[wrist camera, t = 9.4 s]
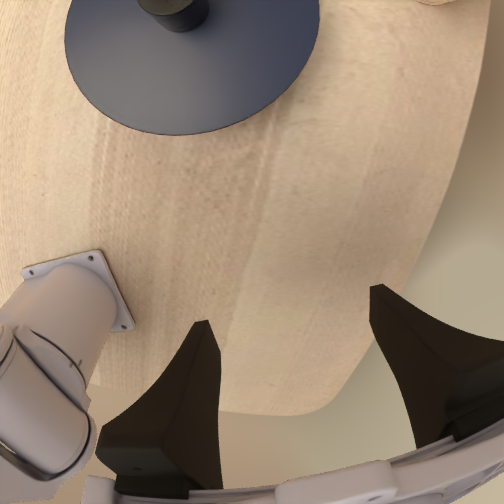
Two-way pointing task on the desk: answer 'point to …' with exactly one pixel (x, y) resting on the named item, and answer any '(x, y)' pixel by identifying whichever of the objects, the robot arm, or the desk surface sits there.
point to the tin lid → (187, 58)
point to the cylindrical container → (435, 1)
